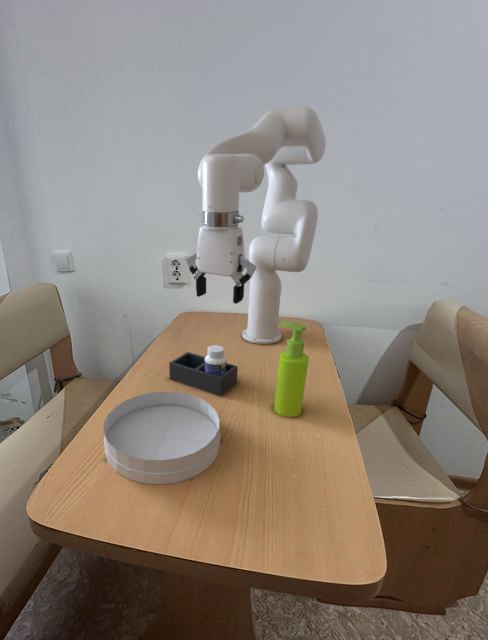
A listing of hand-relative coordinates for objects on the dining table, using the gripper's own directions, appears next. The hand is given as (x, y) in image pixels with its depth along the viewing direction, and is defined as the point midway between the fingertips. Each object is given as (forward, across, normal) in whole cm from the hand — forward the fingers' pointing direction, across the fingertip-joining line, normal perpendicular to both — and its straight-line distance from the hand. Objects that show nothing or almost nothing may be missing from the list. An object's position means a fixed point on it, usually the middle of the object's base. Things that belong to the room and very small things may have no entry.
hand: (219, 298), depth 86 cm
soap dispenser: (+22, -19, +3) cm, 29 cm away
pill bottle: (+21, 0, +2) cm, 21 cm away
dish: (+21, -4, +28) cm, 35 cm away
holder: (+22, +3, +2) cm, 22 cm away
